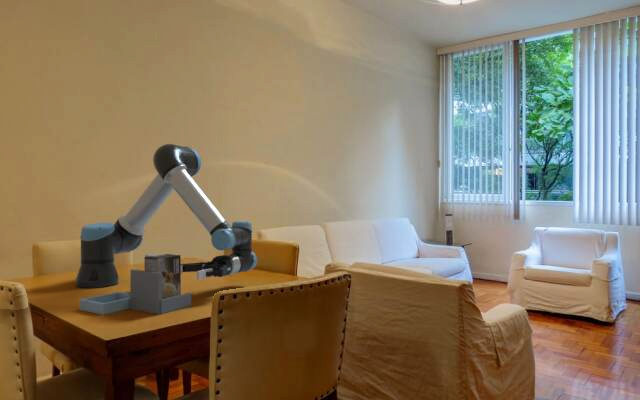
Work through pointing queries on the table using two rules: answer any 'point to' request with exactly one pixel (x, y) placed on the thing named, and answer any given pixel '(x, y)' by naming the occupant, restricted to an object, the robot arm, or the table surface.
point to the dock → (153, 294)
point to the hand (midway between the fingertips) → (182, 273)
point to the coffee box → (166, 272)
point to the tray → (106, 303)
